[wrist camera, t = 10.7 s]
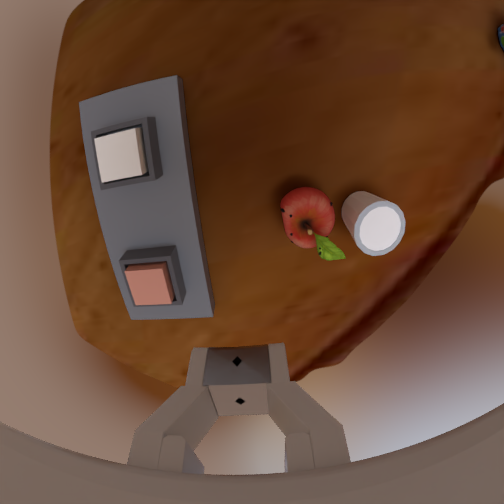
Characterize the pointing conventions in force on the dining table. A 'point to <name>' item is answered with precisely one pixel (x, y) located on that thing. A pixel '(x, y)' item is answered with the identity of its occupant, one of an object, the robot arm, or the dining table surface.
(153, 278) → the key brick
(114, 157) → the key ivory
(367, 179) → the dining table surface
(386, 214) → the white short cylinder
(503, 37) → the snack cup
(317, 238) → the apple
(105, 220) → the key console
